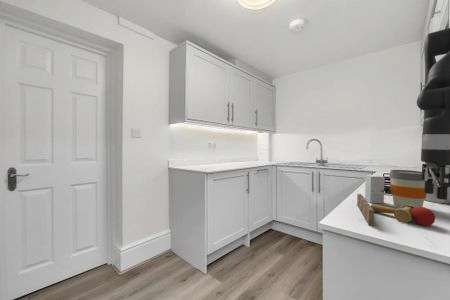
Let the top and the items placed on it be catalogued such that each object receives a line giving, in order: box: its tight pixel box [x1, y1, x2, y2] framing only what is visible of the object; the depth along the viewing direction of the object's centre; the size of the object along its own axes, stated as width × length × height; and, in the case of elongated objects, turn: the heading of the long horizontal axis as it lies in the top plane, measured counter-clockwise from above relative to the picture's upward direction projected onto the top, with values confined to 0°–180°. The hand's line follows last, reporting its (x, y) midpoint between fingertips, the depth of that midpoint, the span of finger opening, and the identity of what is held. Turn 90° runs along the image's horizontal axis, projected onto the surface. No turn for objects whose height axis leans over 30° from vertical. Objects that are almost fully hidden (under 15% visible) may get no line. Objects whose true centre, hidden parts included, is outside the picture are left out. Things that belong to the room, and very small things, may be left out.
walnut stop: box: [356, 193, 375, 227], centre depth 78 cm, size 24×1×5 cm, turn 155°
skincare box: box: [364, 174, 386, 204], centre depth 94 cm, size 6×4×12 cm
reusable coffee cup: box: [389, 169, 429, 209], centre depth 87 cm, size 12×13×15 cm
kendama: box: [370, 203, 436, 227], centre depth 74 cm, size 8×6×18 cm
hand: (434, 196), depth 69 cm, fingers open, 8 cm apart
